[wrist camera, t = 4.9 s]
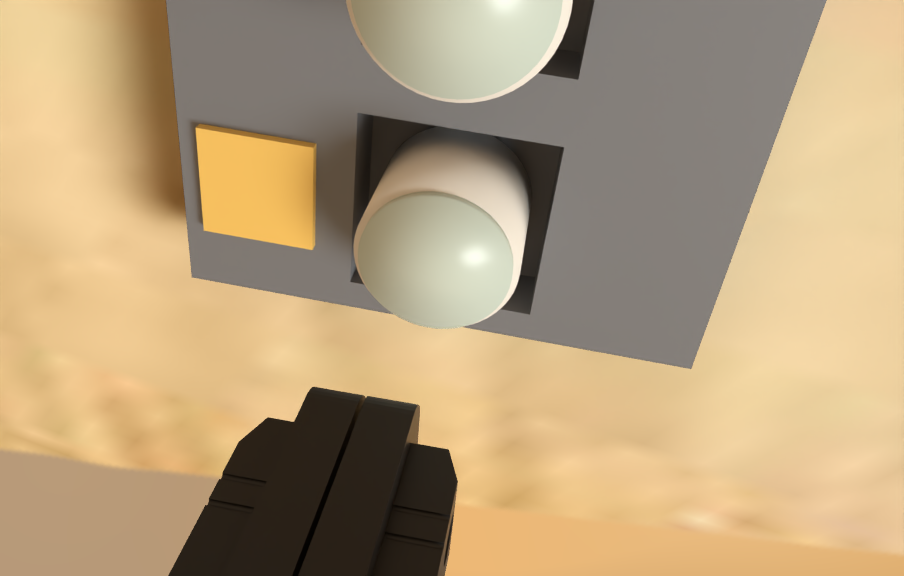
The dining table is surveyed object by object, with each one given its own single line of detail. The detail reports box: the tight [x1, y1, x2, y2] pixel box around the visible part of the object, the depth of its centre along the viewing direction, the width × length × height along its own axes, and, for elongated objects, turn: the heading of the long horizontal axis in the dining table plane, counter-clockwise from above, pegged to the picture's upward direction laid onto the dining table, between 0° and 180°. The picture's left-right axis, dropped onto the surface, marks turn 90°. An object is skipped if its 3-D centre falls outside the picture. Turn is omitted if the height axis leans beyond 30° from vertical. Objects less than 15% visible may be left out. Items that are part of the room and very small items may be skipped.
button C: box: [354, 127, 532, 329], centre depth 25 cm, size 5×5×4 cm
